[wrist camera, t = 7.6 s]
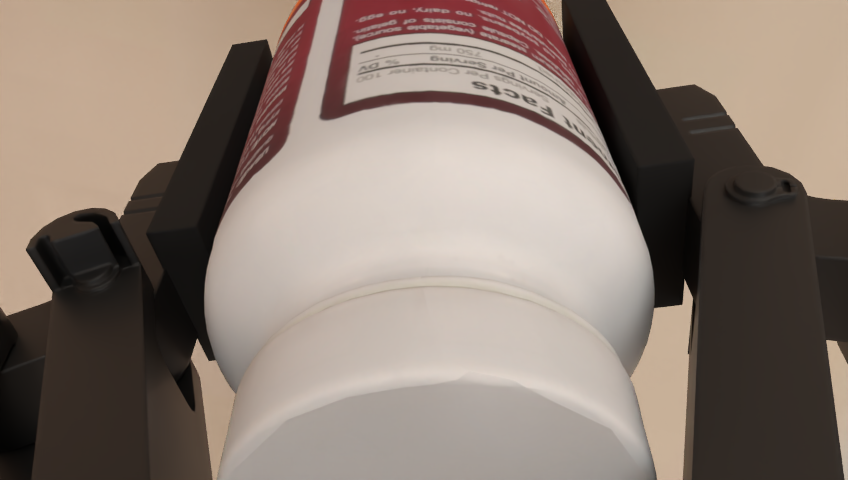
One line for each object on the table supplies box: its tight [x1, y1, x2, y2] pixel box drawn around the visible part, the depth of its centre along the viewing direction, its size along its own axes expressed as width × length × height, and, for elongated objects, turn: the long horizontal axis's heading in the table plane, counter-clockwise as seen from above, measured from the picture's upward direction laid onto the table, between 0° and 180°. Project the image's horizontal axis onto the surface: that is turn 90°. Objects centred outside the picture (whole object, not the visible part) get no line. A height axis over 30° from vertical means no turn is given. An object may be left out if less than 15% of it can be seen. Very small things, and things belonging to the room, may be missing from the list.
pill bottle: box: [204, 0, 657, 480], centre depth 12 cm, size 6×6×11 cm
